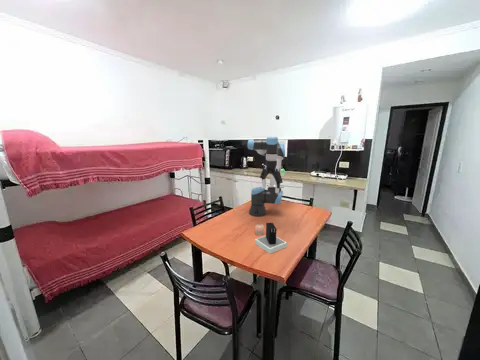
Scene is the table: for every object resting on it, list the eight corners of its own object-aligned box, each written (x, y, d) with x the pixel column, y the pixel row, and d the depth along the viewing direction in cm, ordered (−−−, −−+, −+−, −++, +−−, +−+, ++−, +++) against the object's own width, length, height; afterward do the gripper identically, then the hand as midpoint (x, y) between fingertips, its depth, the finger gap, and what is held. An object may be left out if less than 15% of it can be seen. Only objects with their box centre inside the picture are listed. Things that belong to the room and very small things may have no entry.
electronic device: (272, 236, 130) (272, 222, 128) (275, 244, 121) (276, 229, 119) (265, 236, 130) (266, 222, 128) (269, 244, 120) (269, 229, 118)
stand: (254, 243, 128) (255, 238, 127) (271, 237, 136) (271, 233, 135) (269, 254, 117) (269, 248, 116) (286, 247, 124) (286, 242, 123)
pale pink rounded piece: (253, 233, 142) (253, 225, 141) (259, 231, 145) (260, 223, 144) (258, 236, 137) (258, 228, 136) (265, 234, 140) (265, 226, 139)
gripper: (255, 158, 144) (255, 187, 149) (280, 162, 124) (279, 195, 129) (263, 157, 148) (262, 185, 153) (289, 161, 128) (287, 193, 133)
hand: (270, 190), depth 141 cm, fingers open, 13 cm apart
